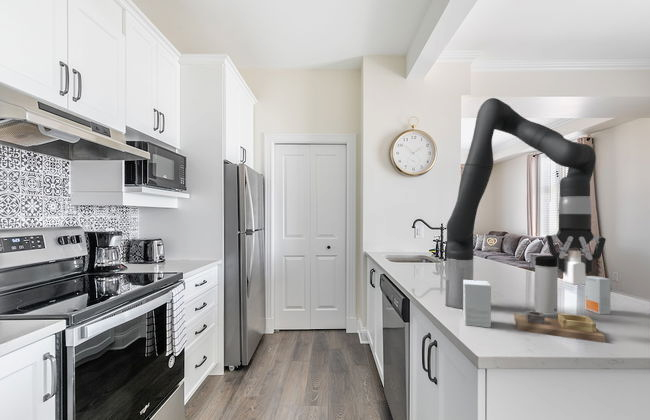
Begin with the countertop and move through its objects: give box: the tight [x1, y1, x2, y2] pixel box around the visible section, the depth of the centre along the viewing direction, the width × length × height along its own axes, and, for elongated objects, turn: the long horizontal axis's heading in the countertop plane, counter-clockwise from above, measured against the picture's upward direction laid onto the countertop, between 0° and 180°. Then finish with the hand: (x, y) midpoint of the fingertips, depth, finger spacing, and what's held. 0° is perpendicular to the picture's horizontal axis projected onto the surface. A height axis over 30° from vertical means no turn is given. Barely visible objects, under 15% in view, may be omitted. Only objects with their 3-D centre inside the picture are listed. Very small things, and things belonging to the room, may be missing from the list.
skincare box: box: [584, 275, 612, 315], centre depth 117 cm, size 6×4×12 cm
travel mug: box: [534, 255, 559, 319], centre depth 112 cm, size 6×7×20 cm
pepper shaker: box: [562, 249, 587, 286], centre depth 96 cm, size 4×4×10 cm
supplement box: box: [462, 279, 492, 328], centre depth 104 cm, size 7×7×13 cm
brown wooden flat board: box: [513, 310, 606, 343], centre depth 98 cm, size 20×12×4 cm, turn 65°
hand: (574, 271), depth 96 cm, fingers closed on pepper shaker, 5 cm apart
